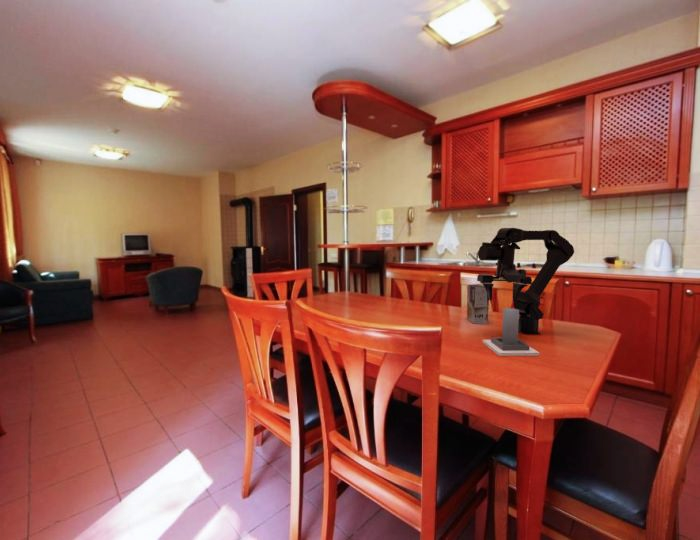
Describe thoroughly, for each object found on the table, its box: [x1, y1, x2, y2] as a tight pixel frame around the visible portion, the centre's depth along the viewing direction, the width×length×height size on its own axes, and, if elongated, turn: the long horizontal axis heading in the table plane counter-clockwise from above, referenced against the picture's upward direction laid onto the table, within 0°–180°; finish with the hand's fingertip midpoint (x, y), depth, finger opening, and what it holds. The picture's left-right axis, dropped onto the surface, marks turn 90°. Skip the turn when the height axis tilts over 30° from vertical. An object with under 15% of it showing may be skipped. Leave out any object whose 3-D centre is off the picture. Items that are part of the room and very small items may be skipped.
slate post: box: [501, 307, 519, 345], centre depth 112 cm, size 5×5×12 cm
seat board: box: [481, 336, 540, 357], centre depth 112 cm, size 13×13×2 cm
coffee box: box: [466, 283, 490, 325], centre depth 146 cm, size 9×6×16 cm
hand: (502, 301), depth 127 cm, fingers open, 9 cm apart
